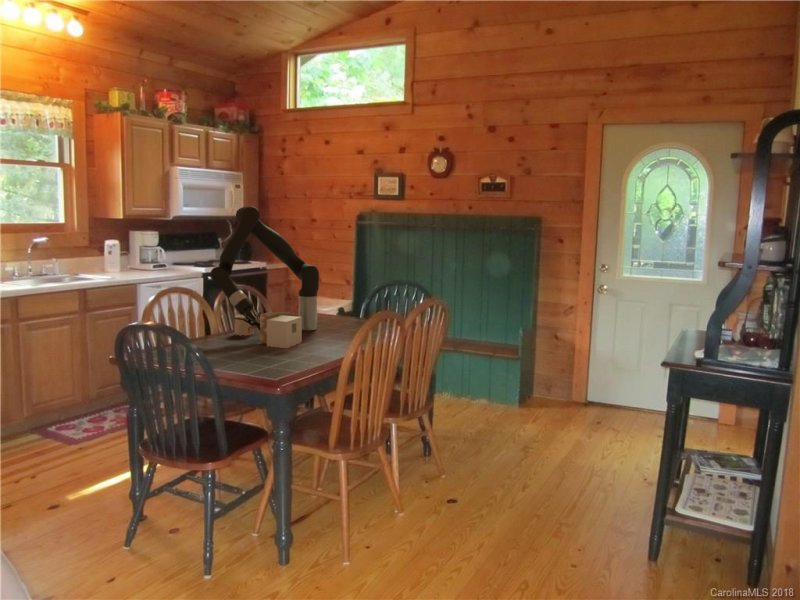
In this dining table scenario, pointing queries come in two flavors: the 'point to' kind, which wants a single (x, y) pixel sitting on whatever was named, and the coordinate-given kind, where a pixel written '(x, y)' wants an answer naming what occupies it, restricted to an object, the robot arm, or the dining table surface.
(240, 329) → the teacup with lid
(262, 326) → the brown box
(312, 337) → the dining table surface
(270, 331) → the cardboard box
